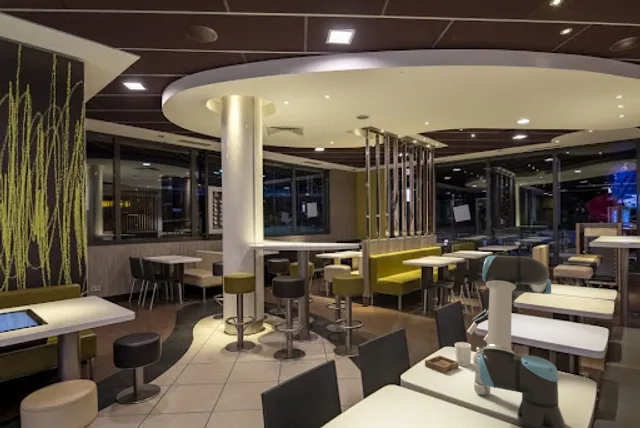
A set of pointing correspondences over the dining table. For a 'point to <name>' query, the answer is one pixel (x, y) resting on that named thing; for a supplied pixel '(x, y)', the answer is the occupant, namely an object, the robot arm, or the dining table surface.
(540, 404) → the robot arm
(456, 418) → the dining table surface
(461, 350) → the white cup
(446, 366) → the brown wooden tray
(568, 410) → the dining table surface
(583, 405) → the dining table surface
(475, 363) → the plastic bottle
